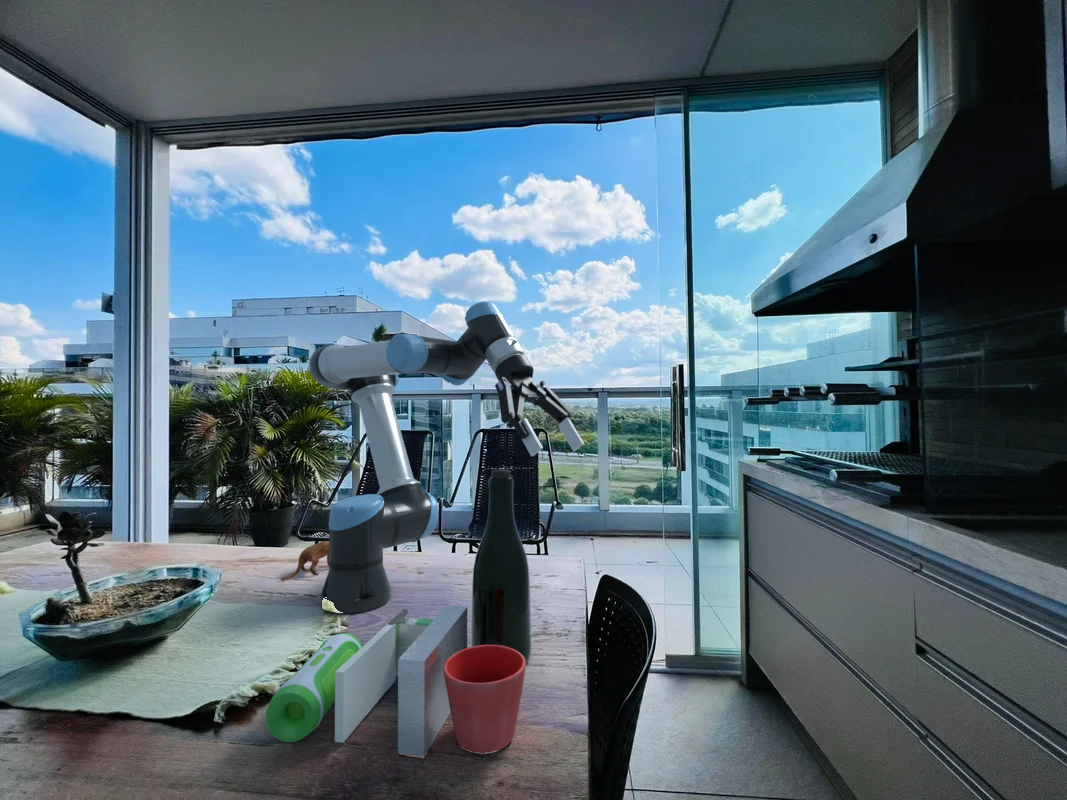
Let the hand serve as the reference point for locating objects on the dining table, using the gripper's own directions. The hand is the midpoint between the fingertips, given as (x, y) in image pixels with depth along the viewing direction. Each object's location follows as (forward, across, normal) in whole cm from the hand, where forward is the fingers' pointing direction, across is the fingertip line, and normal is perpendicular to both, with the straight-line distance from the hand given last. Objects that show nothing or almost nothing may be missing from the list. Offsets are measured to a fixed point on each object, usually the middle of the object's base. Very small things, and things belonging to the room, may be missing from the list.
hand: (559, 449), depth 94 cm
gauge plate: (+23, -33, +29) cm, 50 cm away
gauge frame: (+26, -31, +25) cm, 48 cm away
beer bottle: (+27, -12, +24) cm, 38 cm away
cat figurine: (-15, -9, +82) cm, 84 cm away
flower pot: (+34, -29, +15) cm, 47 cm away
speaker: (+20, -39, +34) cm, 55 cm away
